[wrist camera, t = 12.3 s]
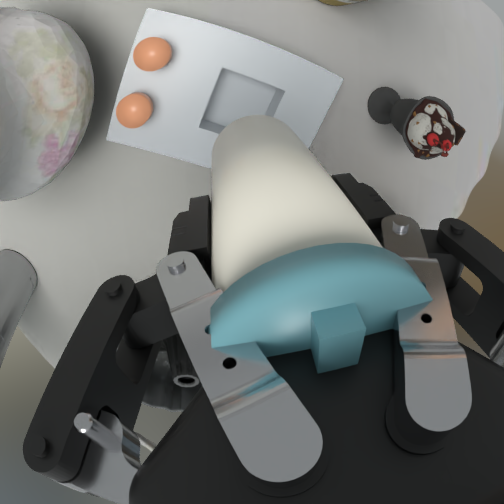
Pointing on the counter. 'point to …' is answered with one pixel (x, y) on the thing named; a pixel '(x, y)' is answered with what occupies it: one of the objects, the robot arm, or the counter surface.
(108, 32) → the counter surface
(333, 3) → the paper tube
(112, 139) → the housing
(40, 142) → the ceramic pitcher
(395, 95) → the sundae
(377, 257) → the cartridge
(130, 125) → the plunger
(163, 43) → the plunger
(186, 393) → the bundt pan
